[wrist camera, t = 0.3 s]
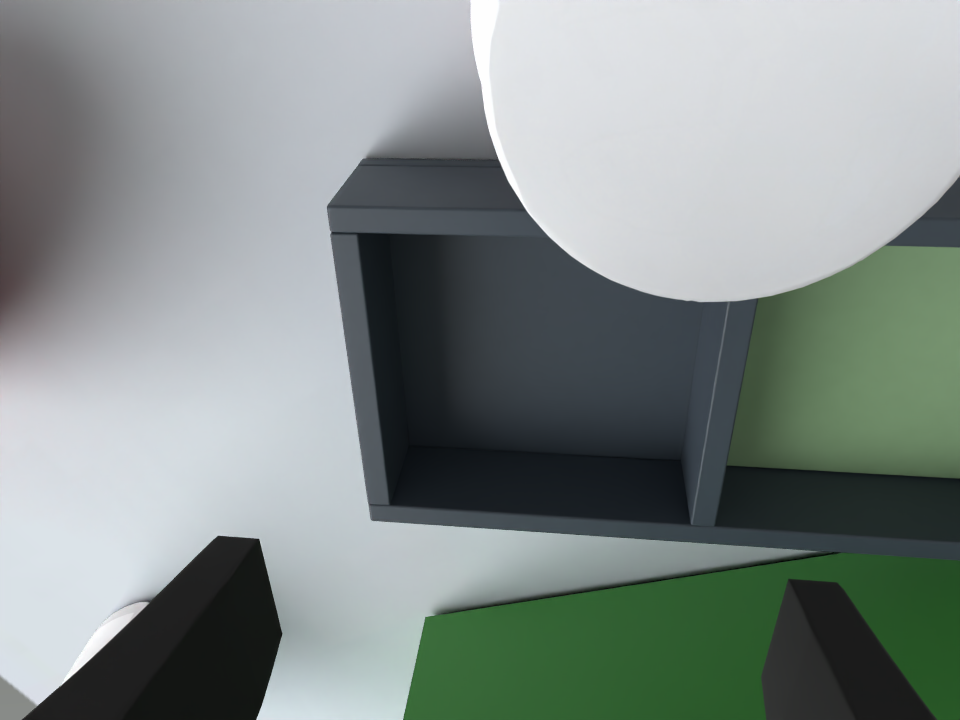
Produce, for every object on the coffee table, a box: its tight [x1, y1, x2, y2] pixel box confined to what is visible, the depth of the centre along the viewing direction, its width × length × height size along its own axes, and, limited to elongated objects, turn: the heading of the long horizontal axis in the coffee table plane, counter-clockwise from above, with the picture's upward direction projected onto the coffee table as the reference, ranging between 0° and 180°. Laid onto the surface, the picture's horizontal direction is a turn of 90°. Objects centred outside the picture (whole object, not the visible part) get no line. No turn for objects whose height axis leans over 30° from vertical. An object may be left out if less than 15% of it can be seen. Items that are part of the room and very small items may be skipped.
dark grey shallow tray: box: [327, 159, 960, 561], centre depth 18 cm, size 9×17×3 cm, turn 92°
